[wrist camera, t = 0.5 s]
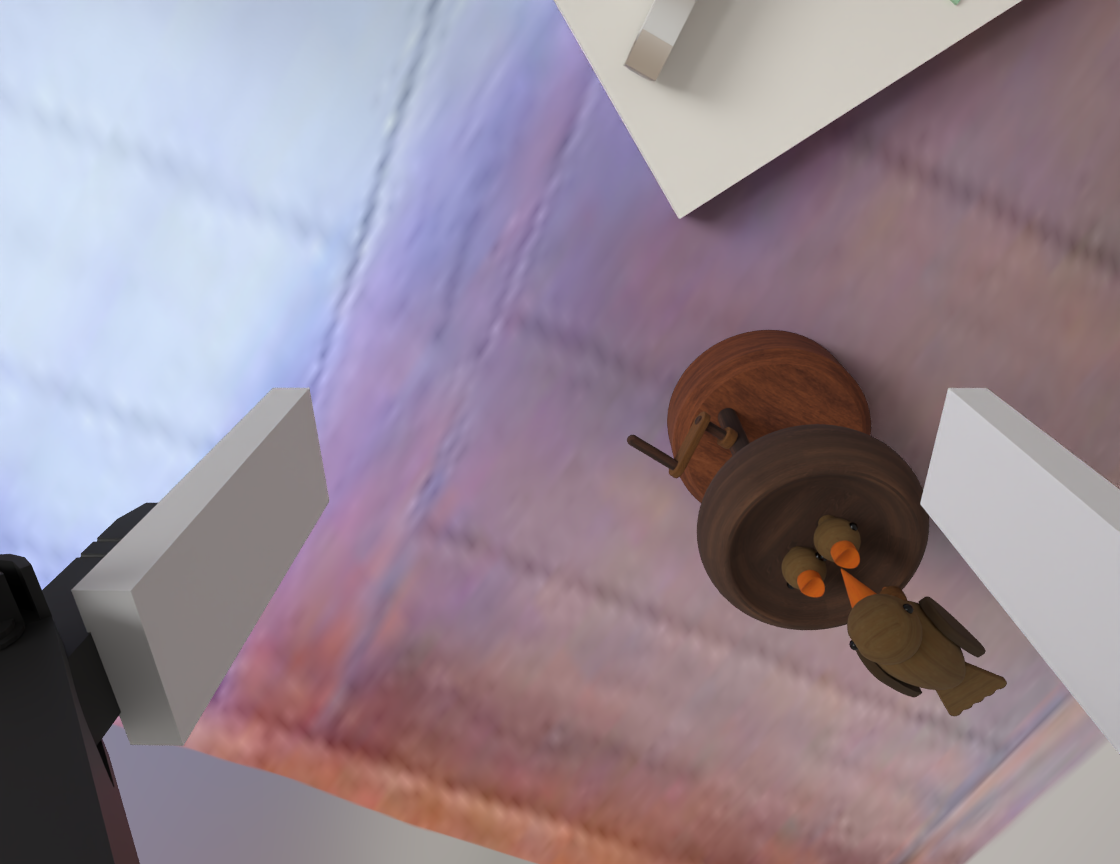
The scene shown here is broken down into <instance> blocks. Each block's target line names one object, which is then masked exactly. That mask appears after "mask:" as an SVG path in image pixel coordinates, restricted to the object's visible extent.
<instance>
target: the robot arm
mask: <svg viewBox="0 0 1120 864" xmlns="http://www.w3.org/2000/svg"><path fill="white" fill-rule="evenodd" d="M328 503H329V496H328V491H327V485H326V479H325V474H324V468H323V463H322V457H321V451H320V446H319V440H318V434H317V429H316V423H315V417H314V412H313V406H312V400H311V395H310V389H309V388H272V389H271V390H270V391H269V392H268V393H267V394H266V395H265V396H264V397H263V398H262V399H261V400H260V401H259V402H258V403H257V405H256V406H255V407H254V408H253V409H252V410H251V411H250V412H249V413H248V414H247V415H246V416H245V417H244V418H243V419H242V420H241V421H240V422H239V423H238V424H237V425H236V426H235V427H234V428H233V429H232V430H231V431H230V432H229V433H228V434H227V435H226V436H225V437H224V438H223V439H222V440H221V441H220V442H219V443H218V444H217V445H216V446H215V447H214V448H213V449H212V450H211V451H210V452H209V453H208V454H207V455H206V456H205V457H204V458H203V459H202V460H201V461H200V462H199V463H198V464H197V465H196V466H195V467H194V468H193V469H192V470H191V471H190V472H189V473H188V474H187V475H186V476H185V477H184V478H183V479H182V480H181V481H180V482H179V483H178V484H177V485H176V486H175V487H174V488H173V489H172V490H171V491H170V492H169V493H168V494H167V495H166V496H165V497H164V498H163V499H162V500H161V501H160V502H159V503H145V504H143V505H141V506H140V507H138V508H136V509H134V510H133V511H131V512H129V513H127V514H125V515H124V516H122V517H120V518H118V519H117V520H116V521H115V522H114V523H113V524H112V525H111V526H109V527H108V528H107V529H106V530H105V531H104V532H103V533H102V534H101V535H100V536H99V537H98V538H97V542H93V543H92V544H90V545H89V546H88V547H87V548H86V549H85V550H84V551H83V552H82V553H81V557H80V558H76V559H75V560H74V561H73V562H72V563H70V564H69V565H68V566H67V567H66V568H65V569H64V570H63V571H62V572H61V573H60V574H59V575H58V576H57V577H56V578H55V579H54V580H53V581H51V582H50V583H49V584H48V585H47V586H46V587H45V588H44V589H43V590H41V587H40V585H39V582H38V580H37V577H36V575H35V572H34V570H33V568H32V565H31V564H30V563H29V562H28V560H27V559H26V558H25V557H21V556H17V555H12V554H1V555H0V864H140V863H139V859H138V856H137V852H136V849H135V845H134V842H133V838H132V835H131V831H130V828H129V824H128V821H127V817H126V814H125V810H124V807H123V803H122V799H121V796H120V792H119V789H118V785H117V782H116V778H115V775H114V771H113V768H112V765H111V761H110V757H109V754H108V752H107V749H106V747H105V744H104V742H103V740H102V738H103V736H104V735H105V734H106V732H107V731H108V730H109V728H110V727H111V725H112V724H113V723H114V721H115V720H116V719H117V717H118V716H120V718H121V721H122V724H123V726H124V729H125V731H126V734H127V737H128V739H129V741H130V744H131V745H177V746H183V745H184V744H185V742H186V740H187V739H188V737H189V735H190V734H191V732H192V730H193V729H194V727H195V725H196V724H197V722H198V720H199V719H200V717H201V715H202V714H203V712H204V710H205V709H206V707H207V705H208V704H209V702H210V700H211V698H212V697H213V695H214V693H215V692H216V690H217V688H218V687H219V685H220V683H221V682H222V680H223V678H224V677H225V675H226V673H227V672H228V670H229V668H230V667H231V665H232V663H233V662H234V660H235V658H236V657H237V655H238V653H239V652H240V650H241V648H242V647H243V645H244V643H245V642H246V640H247V638H248V637H249V635H250V633H251V632H252V630H253V628H254V626H255V625H256V623H257V621H258V620H259V618H260V616H261V615H262V613H263V611H264V610H265V608H266V606H267V605H268V603H269V601H270V600H271V598H272V596H273V595H274V593H275V591H276V590H277V588H278V586H279V585H280V583H281V581H282V580H283V578H284V576H285V575H286V573H287V571H288V570H289V568H290V566H291V565H292V563H293V561H294V559H295V558H296V556H297V554H298V553H299V551H300V549H301V548H302V546H303V544H304V543H305V541H306V539H307V538H308V536H309V534H310V533H311V531H312V529H313V528H314V526H315V524H316V523H317V521H318V519H319V518H320V516H321V514H322V513H323V511H324V509H325V508H326V506H327V504H328ZM920 504H921V506H922V507H923V508H924V509H925V511H926V512H927V513H928V514H929V516H930V517H931V518H932V519H933V521H934V522H935V523H936V525H937V526H938V527H939V528H940V530H941V531H942V532H943V533H944V535H945V536H946V537H947V538H948V540H949V541H950V542H951V543H952V545H953V546H954V547H955V548H956V550H957V551H958V552H959V553H960V555H961V556H962V557H963V558H964V560H965V561H966V562H967V563H968V565H969V566H970V567H971V568H972V570H973V571H974V572H975V574H976V575H977V576H978V577H979V579H980V580H981V581H982V582H983V584H984V585H985V586H986V587H987V589H988V590H989V591H990V592H991V594H992V595H993V596H994V597H995V599H996V600H997V601H998V602H999V604H1000V605H1001V606H1002V607H1003V609H1004V610H1005V611H1006V612H1007V614H1008V615H1009V616H1010V617H1011V619H1012V620H1013V621H1014V623H1015V624H1016V625H1017V626H1018V628H1019V629H1020V630H1021V631H1022V633H1023V634H1024V635H1025V636H1026V638H1027V639H1028V640H1029V641H1030V643H1031V644H1032V645H1033V646H1034V648H1035V649H1036V650H1037V651H1038V653H1039V654H1040V655H1041V656H1042V658H1043V659H1044V660H1045V661H1046V663H1047V664H1048V665H1049V666H1050V668H1051V669H1052V670H1053V671H1054V673H1055V674H1056V675H1057V677H1058V678H1059V679H1060V680H1061V682H1062V683H1063V684H1064V685H1065V687H1066V688H1067V689H1068V690H1069V692H1070V693H1071V694H1072V695H1073V697H1074V698H1075V699H1076V700H1077V702H1078V703H1079V704H1080V705H1081V707H1082V708H1083V709H1084V710H1085V712H1086V713H1087V714H1088V715H1089V717H1090V718H1091V719H1092V720H1093V722H1094V723H1095V724H1096V726H1097V727H1098V728H1099V729H1100V731H1101V732H1102V733H1103V734H1104V736H1105V737H1106V738H1107V739H1108V741H1109V742H1110V743H1111V744H1112V746H1113V747H1114V748H1115V749H1116V751H1117V752H1118V753H1119V754H1120V489H1118V488H1117V487H1116V486H1114V485H1113V484H1112V483H1110V482H1109V481H1108V480H1106V479H1105V478H1104V477H1103V476H1101V475H1100V474H1099V473H1097V472H1096V471H1095V470H1093V469H1092V468H1091V467H1089V466H1088V465H1087V464H1086V463H1084V462H1083V461H1082V460H1080V459H1079V458H1078V457H1076V456H1075V455H1074V454H1072V453H1071V452H1070V451H1068V450H1067V449H1066V448H1065V447H1063V446H1062V445H1061V444H1059V443H1058V442H1057V441H1055V440H1054V439H1053V438H1051V437H1050V436H1049V435H1048V434H1046V433H1045V432H1044V431H1042V430H1041V429H1040V428H1038V427H1037V426H1036V425H1034V424H1033V423H1032V422H1031V421H1029V420H1028V419H1027V418H1025V417H1024V416H1023V415H1021V414H1020V413H1019V412H1017V411H1016V410H1015V409H1013V408H1012V407H1011V406H1010V405H1008V404H1007V403H1006V402H1004V401H1003V400H1002V399H1000V398H999V397H998V396H996V395H995V394H994V393H993V392H991V391H990V390H989V389H987V388H948V391H947V395H946V400H945V404H944V408H943V412H942V416H941V420H940V424H939V428H938V432H937V437H936V441H935V445H934V449H933V453H932V457H931V461H930V465H929V469H928V473H927V478H926V482H925V486H924V490H923V494H922V498H921V502H920Z"/></svg>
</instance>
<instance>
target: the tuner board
mask: <svg viewBox="0 0 1120 864" xmlns="http://www.w3.org/2000/svg"><path fill="white" fill-rule="evenodd" d="M1020 1H1022V0H696V2H695V4H694V6H693V8H692V10H691V12H690V14H689V16H688V18H687V20H686V22H685V24H684V26H683V28H682V30H681V32H680V34H679V36H678V37H677V39H676V41H675V43H674V45H673V48H672V50H671V52H670V54H669V56H668V58H667V60H666V62H665V63H664V65H663V67H662V69H661V71H660V73H659V75H658V77H657V79H656V81H649V80H648V79H646V78H644V77H642V76H641V75H639V74H637V73H635V72H634V71H632V70H630V69H628V68H627V67H625V66H623V64H624V62H625V60H626V58H627V56H628V54H629V52H630V50H631V48H632V46H633V44H634V42H635V39H636V37H637V35H638V33H639V31H640V29H641V27H642V25H643V23H644V21H645V19H646V17H647V15H648V13H649V11H650V8H651V6H652V4H653V2H654V0H554V2H555V4H556V5H557V7H558V9H559V11H560V12H561V14H562V16H563V18H564V19H565V21H566V23H567V25H568V26H569V28H570V30H571V32H572V33H573V35H574V37H575V39H576V40H577V42H578V44H579V46H580V47H581V49H582V51H583V53H584V54H585V56H586V58H587V60H588V61H589V63H590V65H591V67H592V68H593V70H594V72H595V74H596V75H597V77H598V79H599V81H600V82H601V84H602V86H603V88H604V89H605V91H606V93H607V95H608V96H609V98H610V100H611V102H612V103H613V105H614V107H615V109H616V110H617V112H618V114H619V116H620V117H621V119H622V121H623V123H624V124H625V126H626V128H627V130H628V131H629V133H630V135H631V137H632V138H633V140H634V142H635V144H636V145H637V147H638V149H639V151H640V152H641V154H642V156H643V158H644V159H645V161H646V163H647V165H648V166H649V168H650V170H651V172H652V173H653V175H654V177H655V179H656V180H657V182H658V184H659V186H660V187H661V189H662V191H663V193H664V194H665V196H666V198H667V200H668V201H669V203H670V205H671V207H672V208H673V210H674V212H675V213H676V215H677V216H678V218H679V219H681V218H682V217H684V216H685V215H687V214H688V213H690V212H691V211H693V210H695V209H696V208H698V207H699V206H701V205H702V204H704V203H706V202H707V201H709V200H710V199H712V198H713V197H715V196H717V195H718V194H720V193H721V192H723V191H724V190H726V189H727V188H729V187H731V186H732V185H734V184H735V183H737V182H738V181H740V180H742V179H743V178H745V177H746V176H748V175H749V174H751V173H753V172H754V171H756V170H757V169H759V168H760V167H762V166H763V165H765V164H767V163H768V162H770V161H771V160H773V159H774V158H776V157H778V156H779V155H781V154H782V153H784V152H785V151H787V150H789V149H790V148H792V147H793V146H795V145H796V144H798V143H799V142H801V141H803V140H804V139H806V138H807V137H809V136H810V135H812V134H814V133H815V132H817V131H818V130H820V129H821V128H823V127H824V126H826V125H828V124H829V123H831V122H832V121H834V120H835V119H837V118H839V117H840V116H842V115H843V114H845V113H846V112H848V111H850V110H851V109H853V108H854V107H856V106H857V105H859V104H860V103H862V102H864V101H865V100H867V99H868V98H870V97H871V96H873V95H875V94H876V93H878V92H879V91H881V90H882V89H884V88H886V87H887V86H889V85H890V84H892V83H893V82H895V81H896V80H898V79H900V78H901V77H903V76H904V75H906V74H907V73H909V72H911V71H912V70H914V69H915V68H917V67H918V66H920V65H922V64H923V63H925V62H926V61H928V60H929V59H931V58H932V57H934V56H936V55H937V54H939V53H940V52H942V51H943V50H945V49H947V48H948V47H950V46H951V45H953V44H954V43H956V42H957V41H959V40H961V39H962V38H964V37H965V36H967V35H968V34H970V33H972V32H973V31H975V30H976V29H978V28H979V27H981V26H983V25H984V24H986V23H987V22H989V21H990V20H992V19H993V18H995V17H997V16H998V15H1000V14H1001V13H1003V12H1004V11H1006V10H1008V9H1009V8H1011V7H1012V6H1014V5H1015V4H1017V3H1019V2H1020Z"/></svg>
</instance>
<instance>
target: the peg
mask: <svg viewBox="0 0 1120 864" xmlns="http://www.w3.org/2000/svg"><path fill="white" fill-rule="evenodd" d="M695 2H696V0H654V2H653V4H652V6H651V8H650V11H649V13H648V15H647V17H646V19H645V21H644V23H643V25H642V27H641V29H640V31H639V33H638V35H637V37H636V39H635V42H634V44H633V46H632V48H631V50H630V52H629V54H628V56H627V58H626V60H625V62H624V64H623V66H625V67H627V68H628V69H630V70H632V71H634V72H635V73H637V74H639V75H641V76H642V77H644V78H646V79H648V80H649V81H656V79H657V77H658V75H659V73H660V71H661V69H662V67H663V65H664V63H665V62H666V60H667V58H668V56H669V54H670V52H671V50H672V48H673V45H674V43H675V41H676V39H677V37H678V36H679V34H680V32H681V30H682V28H683V26H684V24H685V22H686V20H687V18H688V16H689V14H690V12H691V10H692V8H693V6H694V4H695Z"/></svg>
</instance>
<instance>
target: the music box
mask: <svg viewBox="0 0 1120 864" xmlns="http://www.w3.org/2000/svg"><path fill="white" fill-rule="evenodd" d="M667 426H668V434H669V439H670V443H671V448H672V452H673V456H674V459H673V458H672V457H670V456H668V455H667V454H665V453H663V452H662V451H660V450H658V449H657V448H655V447H653V446H652V445H650V444H648V443H647V442H645V441H643V440H642V439H640V438H638V437H637V436H635V435H630V436H629V437H628V438H627V442H628V444H629V445H631V446H633V447H634V448H636V449H638V450H639V451H641V452H643V453H644V454H646V455H648V456H649V457H651V458H653V459H654V460H656V461H658V462H659V463H661V464H663V465H664V466H666V467H668V468H669V474H670V475H671V476H672V477H674V478H678V477H680V478H681V480H682V481H683V483H684V485H685V486H686V488H687V489H688V490H689V492H690V493H691V494H692V495H693V496H694V497H695V498H696V499H697V500H698V501H699V502H700V503H701V506H700V510H699V515H698V522H697V541H698V548H699V553H700V557H701V560H702V563H703V565H704V568H705V570H706V572H707V574H708V576H709V578H710V579H711V581H712V583H713V584H714V585H715V587H716V588H717V589H718V591H719V592H720V593H721V594H722V595H723V596H724V597H725V598H726V599H727V600H728V601H729V602H730V603H731V604H732V605H734V606H735V607H736V608H738V609H739V610H740V611H742V612H744V613H745V614H747V615H749V616H751V617H752V618H755V619H757V620H759V621H761V622H764V623H767V624H770V625H773V626H777V627H781V628H787V629H794V630H820V629H828V628H834V627H838V626H842V625H846V624H847V629H848V634H849V636H850V638H851V639H852V640H851V641H850V644H849V645H850V648H851V649H853V650H856V652H857V654H858V656H859V658H860V659H861V661H862V662H863V664H864V665H865V666H866V668H867V669H868V670H869V671H870V672H871V673H872V674H873V675H874V676H875V677H876V678H877V679H878V680H880V681H881V682H883V683H884V684H886V685H888V686H889V687H891V688H893V689H894V690H896V691H898V692H900V693H903V694H905V695H908V696H911V697H917V696H918V695H920V694H921V693H922V691H921V690H920V688H919V687H921V688H925V689H932V690H936V692H937V693H938V695H939V697H940V699H941V700H942V702H943V704H944V706H945V708H946V709H947V711H948V713H949V714H950V715H951V716H958V715H959V714H961V712H962V711H963V710H966V709H969V708H971V707H972V706H973V704H975V703H979V702H981V701H982V700H983V699H984V698H985V697H986V696H990V695H992V694H994V693H995V691H996V690H998V689H1002V688H1004V687H1005V686H1006V684H1007V682H1006V680H1005V679H1004V678H1003V677H1001V676H999V675H996V674H994V673H991V672H989V671H986V670H984V669H982V668H979V667H977V666H974V665H972V664H969V663H967V662H965V660H964V656H963V653H962V651H961V648H962V649H964V650H965V651H967V652H968V653H970V654H972V655H974V656H976V657H980V656H981V655H983V654H985V649H984V647H983V646H982V645H981V643H980V642H979V641H978V640H977V639H976V638H975V637H974V636H973V635H972V634H971V633H970V632H969V631H968V630H967V629H965V628H964V627H963V626H962V625H961V624H960V623H959V622H958V621H957V620H956V619H955V618H954V617H953V616H952V615H951V614H949V613H948V612H947V611H946V610H945V609H944V608H943V607H942V606H940V605H939V604H938V603H937V602H935V601H934V600H933V599H932V598H930V597H924V598H923V599H921V600H920V601H919V604H918V603H915V602H912V601H907V598H906V596H905V594H904V593H903V591H902V589H903V588H904V587H905V586H906V585H907V583H908V582H909V581H910V579H911V578H912V577H913V575H914V573H915V572H916V570H917V568H918V566H919V564H920V562H921V560H922V558H923V555H924V552H925V549H926V545H927V541H928V534H929V514H928V513H927V512H926V511H925V509H924V508H923V507H922V506H921V504H920V502H921V498H922V494H923V489H922V487H921V485H920V483H919V481H918V479H917V477H916V476H915V474H914V473H913V471H912V469H911V468H910V467H909V466H908V464H907V463H906V462H905V461H904V460H903V459H902V458H901V457H900V456H899V455H898V454H897V453H896V452H895V451H894V450H892V449H891V448H890V447H889V446H887V445H886V444H884V443H883V442H881V441H879V440H877V439H876V438H874V437H872V436H870V432H871V420H870V412H869V408H868V404H867V401H866V399H865V396H864V394H863V392H862V390H861V389H860V387H859V385H858V384H857V383H856V381H855V380H854V379H853V378H852V376H851V375H850V374H849V373H848V372H847V371H846V370H845V369H844V368H843V367H842V365H841V364H840V363H839V362H838V361H837V360H836V359H835V358H834V357H833V356H832V355H831V354H830V353H829V352H828V351H827V350H826V349H825V348H823V347H822V346H821V345H819V344H818V343H816V342H814V341H812V340H810V339H808V338H806V337H804V336H801V335H798V334H795V333H791V332H786V331H779V330H760V331H752V332H747V333H743V334H739V335H736V336H733V337H730V338H728V339H726V340H723V341H721V342H719V343H717V344H716V345H714V346H712V347H711V348H709V349H708V350H706V351H705V352H704V353H702V354H701V355H700V356H699V357H698V358H697V359H696V360H695V361H694V362H693V363H692V364H691V365H690V366H689V367H688V368H687V369H686V371H685V372H684V373H683V375H682V376H681V378H680V379H679V381H678V383H677V385H676V387H675V389H674V391H673V394H672V397H671V400H670V404H669V409H668V417H667ZM960 647H961V648H960Z"/></svg>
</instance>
